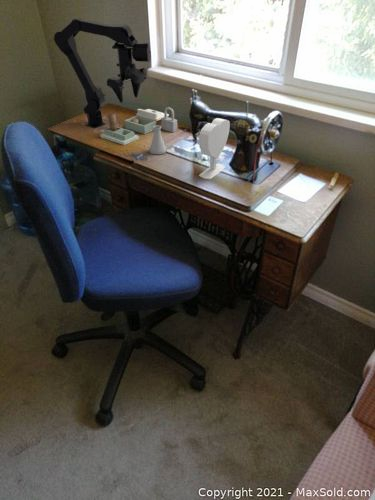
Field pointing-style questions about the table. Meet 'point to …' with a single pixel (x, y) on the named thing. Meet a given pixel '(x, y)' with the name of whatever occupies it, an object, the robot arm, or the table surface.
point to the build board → (119, 135)
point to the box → (140, 124)
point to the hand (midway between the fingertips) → (128, 99)
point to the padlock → (169, 121)
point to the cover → (150, 114)
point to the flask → (157, 142)
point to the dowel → (112, 122)
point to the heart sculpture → (213, 144)
